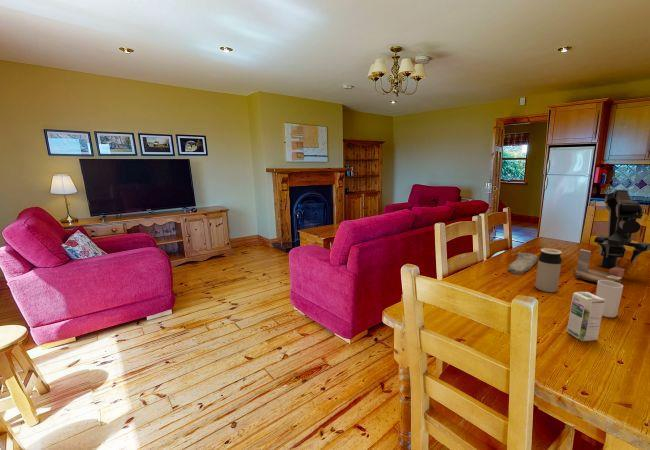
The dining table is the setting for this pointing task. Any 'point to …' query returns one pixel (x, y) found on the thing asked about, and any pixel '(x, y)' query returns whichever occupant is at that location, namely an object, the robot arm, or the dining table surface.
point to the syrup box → (585, 316)
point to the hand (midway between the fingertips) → (618, 260)
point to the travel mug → (548, 270)
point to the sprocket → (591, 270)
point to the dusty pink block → (617, 271)
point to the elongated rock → (522, 263)
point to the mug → (609, 296)
